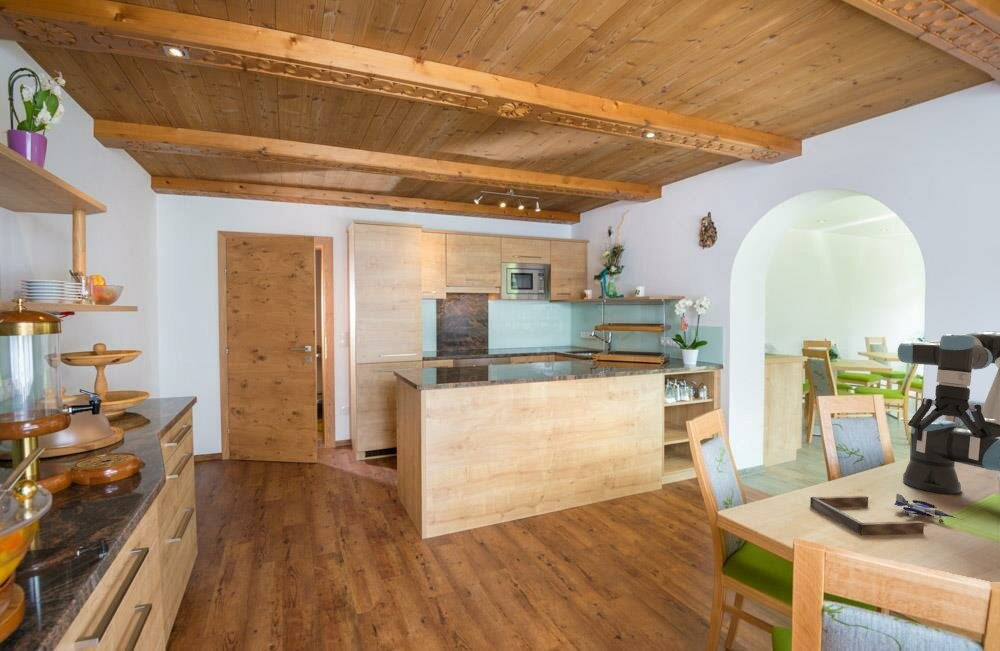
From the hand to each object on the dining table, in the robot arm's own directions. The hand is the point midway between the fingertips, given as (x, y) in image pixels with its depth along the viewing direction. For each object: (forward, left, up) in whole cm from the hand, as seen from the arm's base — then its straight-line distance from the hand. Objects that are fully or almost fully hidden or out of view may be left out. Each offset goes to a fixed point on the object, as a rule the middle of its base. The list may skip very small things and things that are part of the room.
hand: (946, 455), depth 144 cm
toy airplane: (+9, +2, -18) cm, 20 cm away
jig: (+27, +2, -18) cm, 33 cm away
